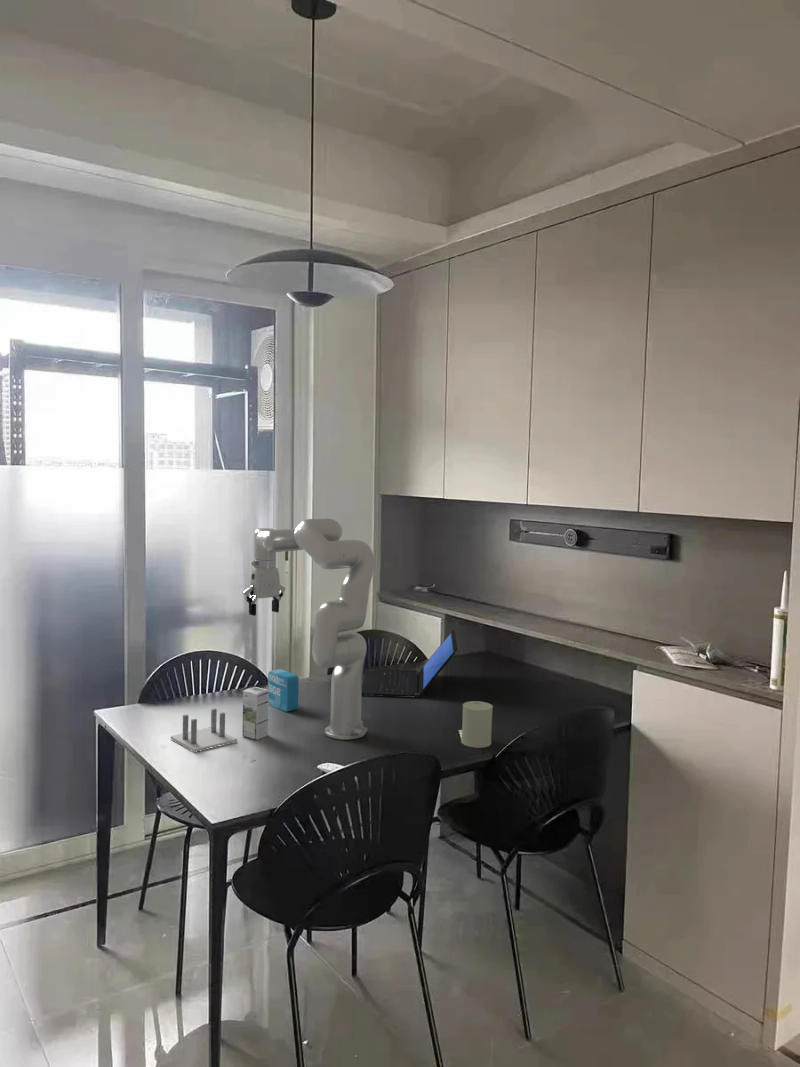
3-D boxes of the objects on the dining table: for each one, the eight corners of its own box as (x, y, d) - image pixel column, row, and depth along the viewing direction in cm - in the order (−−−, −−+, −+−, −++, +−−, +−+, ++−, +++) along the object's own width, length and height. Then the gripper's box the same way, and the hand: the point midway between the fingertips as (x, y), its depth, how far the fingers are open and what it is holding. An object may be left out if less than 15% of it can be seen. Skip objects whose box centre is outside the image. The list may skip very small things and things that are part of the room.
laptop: (359, 672, 317) (360, 625, 315) (452, 676, 315) (454, 629, 314) (351, 696, 284) (352, 644, 282) (455, 701, 282) (457, 648, 281)
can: (487, 737, 245) (488, 699, 244) (494, 747, 236) (496, 708, 235) (458, 737, 244) (459, 699, 243) (464, 748, 235) (466, 708, 234)
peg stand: (237, 742, 233) (237, 715, 233) (194, 752, 224) (194, 725, 223) (212, 729, 243) (212, 704, 243) (170, 739, 234) (170, 713, 233)
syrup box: (268, 735, 240) (269, 688, 239) (255, 740, 235) (256, 693, 234) (254, 731, 243) (255, 685, 242) (241, 737, 238) (242, 690, 236)
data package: (267, 704, 270) (267, 670, 269) (278, 702, 274) (278, 668, 273) (287, 713, 262) (288, 677, 261) (298, 710, 265) (299, 675, 264)
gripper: (250, 567, 262) (249, 618, 263) (291, 563, 274) (290, 612, 276) (237, 564, 267) (236, 614, 268) (278, 561, 279) (277, 609, 281)
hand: (263, 613), depth 272 cm, fingers open, 9 cm apart
